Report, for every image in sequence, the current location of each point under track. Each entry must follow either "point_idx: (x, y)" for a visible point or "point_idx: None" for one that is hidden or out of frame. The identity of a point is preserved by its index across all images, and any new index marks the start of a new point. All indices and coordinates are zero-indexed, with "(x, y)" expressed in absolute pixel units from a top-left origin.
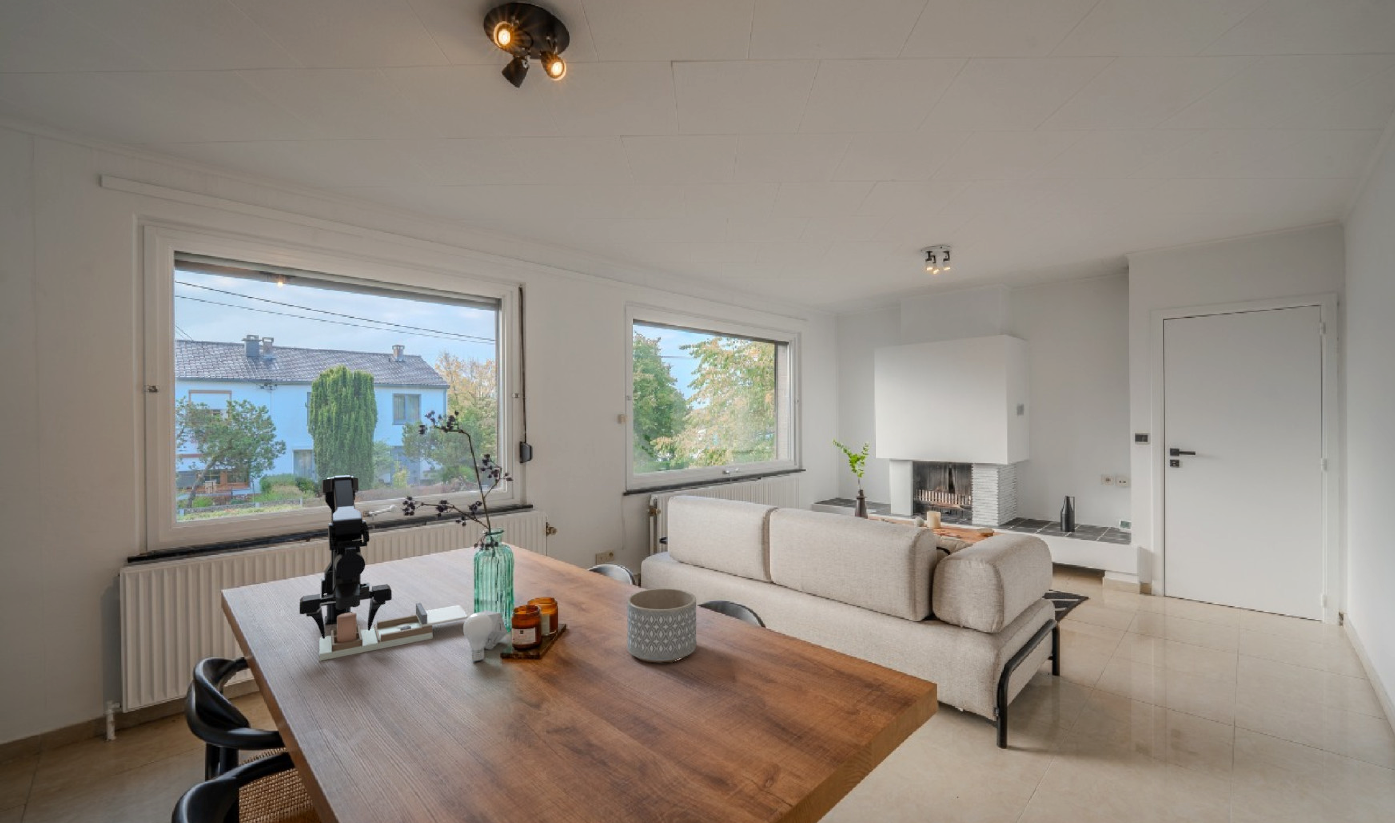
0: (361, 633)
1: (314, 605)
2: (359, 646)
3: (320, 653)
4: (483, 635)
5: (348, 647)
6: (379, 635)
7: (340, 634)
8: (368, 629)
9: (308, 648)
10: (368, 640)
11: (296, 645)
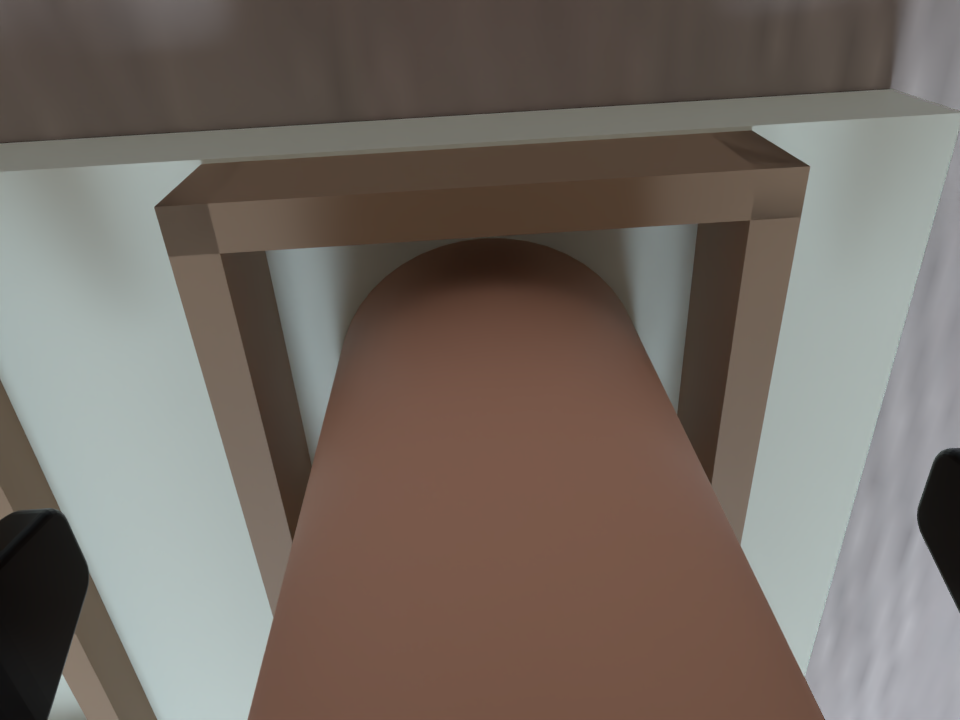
0: None
1: None
2: (258, 163)
3: (933, 153)
4: None
5: (457, 151)
6: None
7: (657, 414)
8: (32, 516)
9: (880, 601)
10: (149, 395)
11: (949, 710)
